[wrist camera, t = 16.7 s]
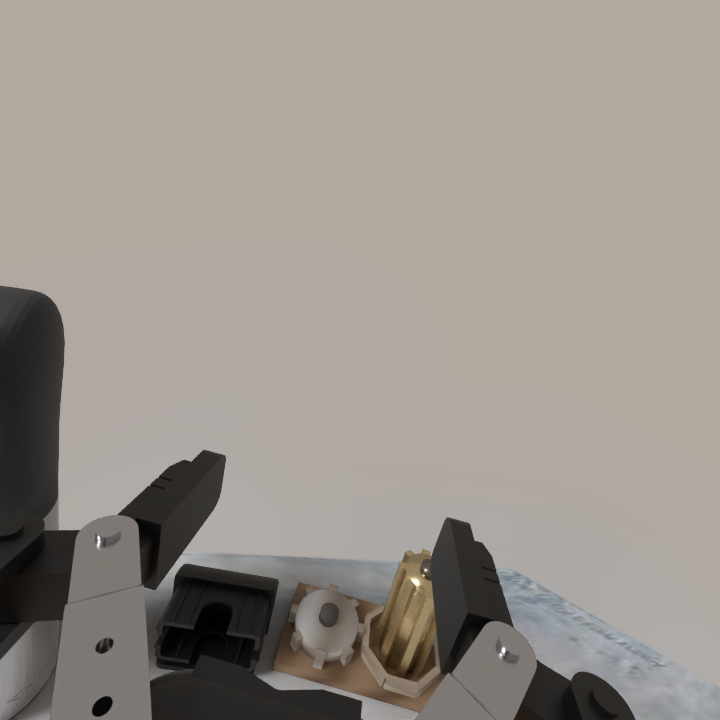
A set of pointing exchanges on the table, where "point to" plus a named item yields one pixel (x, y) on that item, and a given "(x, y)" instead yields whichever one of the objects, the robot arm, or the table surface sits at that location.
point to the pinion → (408, 618)
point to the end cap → (215, 618)
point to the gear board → (347, 649)
